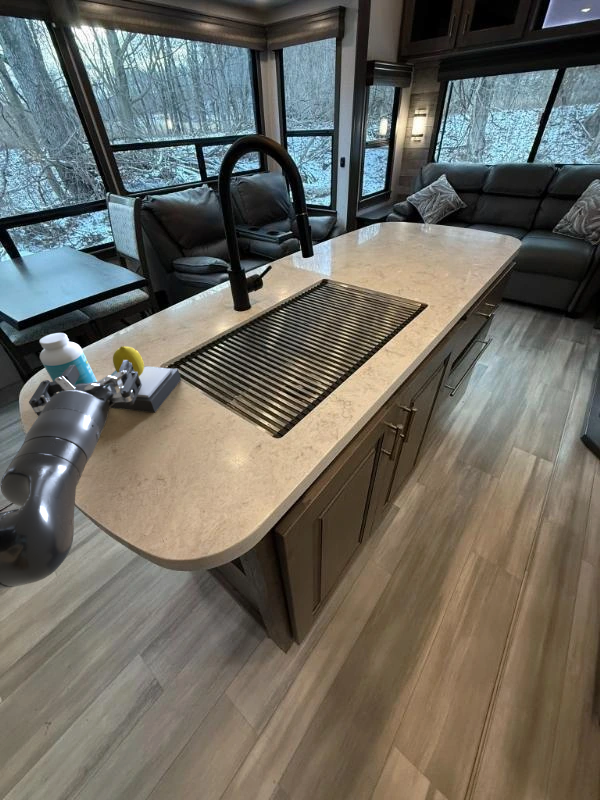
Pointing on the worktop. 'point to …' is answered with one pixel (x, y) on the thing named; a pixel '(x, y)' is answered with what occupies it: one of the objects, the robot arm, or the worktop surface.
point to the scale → (151, 389)
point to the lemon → (130, 355)
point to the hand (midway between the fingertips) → (101, 367)
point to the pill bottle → (64, 357)
